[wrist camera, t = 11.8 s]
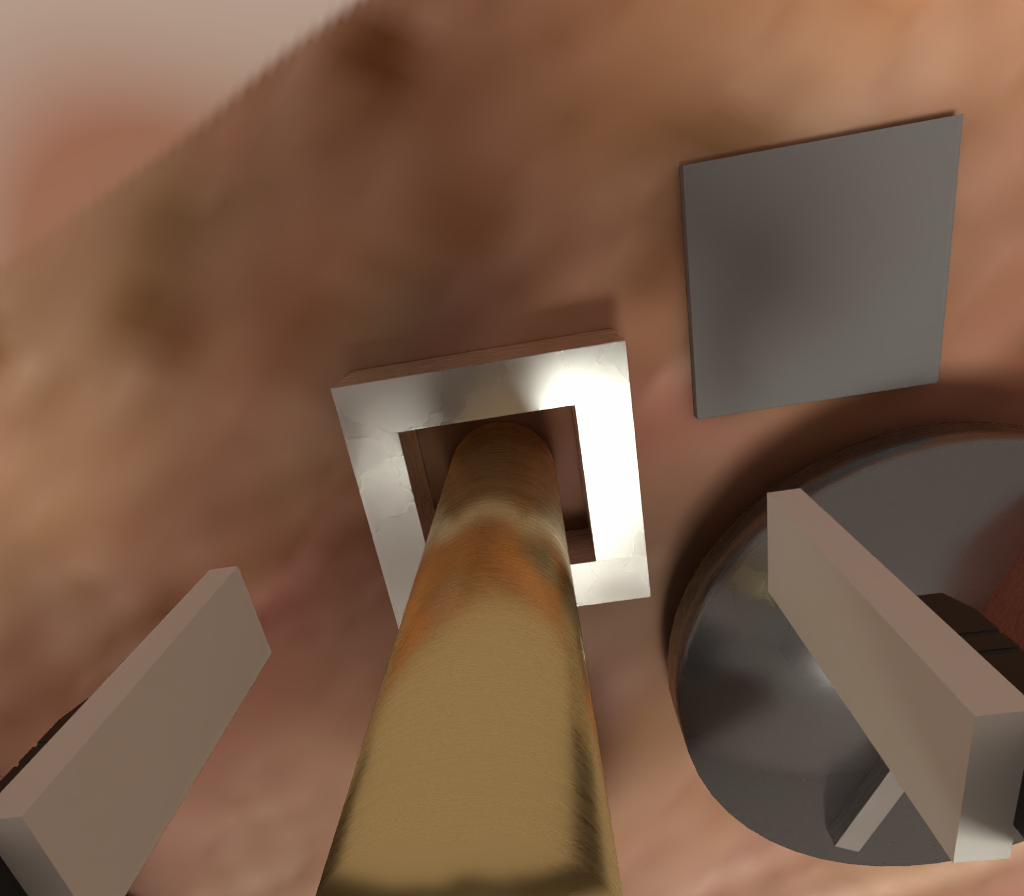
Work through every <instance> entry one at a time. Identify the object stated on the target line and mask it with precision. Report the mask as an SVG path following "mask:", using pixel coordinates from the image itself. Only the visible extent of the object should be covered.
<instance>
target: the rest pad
mask: <svg viewBox="0 0 1024 896" xmlns="http://www.w3.org/2000/svg"><path fill="white" fill-rule="evenodd" d="M962 121H963V114H960V115H955V116H949V117H944V118H939V119H933V120H928V121H922V122H917V123H911V124H906V125H900V126H895V127H889V128H884V129H879V130H873V131H868V132H862V133H857V134H851V135H846V136H840V137H835V138H829V139H824V140H819V141H813V142H808V143H802V144H797V145H791V146H786V147H780V148H775V149H770V150H764V151H759V152H753V153H748V154H742V155H737V156H731V157H726V158H720V159H715V160H710V161H704V162H699V163H693V164H688V165H683V166H680V167H679V168H680V185H681V202H682V219H683V235H684V252H685V269H686V286H687V302H688V319H689V336H690V353H691V369H692V386H693V403H694V416H695V417H696V418H697V419H702V418H709V417H715V416H722V415H729V414H735V413H742V412H748V411H755V410H761V409H768V408H774V407H781V406H788V405H794V404H801V403H807V402H814V401H820V400H827V399H833V398H840V397H846V396H853V395H860V394H866V393H873V392H879V391H886V390H892V389H899V388H905V387H912V386H918V385H925V384H932V383H938V381H939V370H940V359H941V348H942V337H943V327H944V316H945V305H946V294H947V283H948V272H949V262H950V251H951V240H952V229H953V218H954V208H955V197H956V186H957V175H958V164H959V153H960V143H961V132H962Z"/></svg>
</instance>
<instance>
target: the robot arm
mask: <svg viewBox="0 0 1024 896" xmlns="http://www.w3.org/2000/svg"><path fill="white" fill-rule="evenodd" d="M767 532H768V591H769V593H770V594H771V596H772V597H773V599H774V600H775V602H776V603H777V605H778V606H779V608H780V609H781V611H782V612H783V613H784V615H785V616H786V618H787V619H788V621H789V622H790V624H791V625H792V627H793V628H794V630H795V631H796V633H797V634H798V636H799V637H800V638H801V640H802V641H803V643H804V644H805V646H806V647H807V649H808V650H809V652H810V653H811V655H812V656H813V658H814V659H815V661H816V662H817V663H818V665H819V666H820V668H821V669H822V671H823V672H824V674H825V675H826V677H827V678H828V680H829V681H830V683H831V684H832V686H833V687H834V689H835V690H836V691H837V693H838V694H839V696H840V697H841V699H842V700H843V702H844V703H845V705H846V706H847V708H848V709H849V711H850V712H851V714H852V715H853V716H854V718H855V719H856V721H857V722H858V724H859V725H860V727H861V728H862V730H863V731H864V733H865V734H866V736H867V737H868V739H869V740H870V741H871V743H872V744H873V746H874V747H875V749H876V750H877V752H878V753H879V755H880V756H881V758H882V759H883V761H884V762H885V764H886V765H887V766H888V768H889V769H890V771H891V772H892V774H893V775H894V777H895V778H896V780H897V781H898V783H899V784H900V786H901V787H902V789H903V790H904V792H905V793H906V794H907V796H908V797H909V799H910V800H911V802H912V803H913V805H914V806H915V808H916V809H917V811H918V812H919V814H920V815H921V817H922V818H923V819H924V821H925V822H926V824H927V825H928V827H929V828H930V830H931V831H932V833H933V834H934V836H935V837H936V839H937V840H938V842H939V843H940V844H941V846H942V847H943V849H944V850H945V852H946V853H947V855H948V856H949V858H950V859H951V861H952V862H953V863H960V862H971V861H983V860H995V859H1006V858H1010V853H1011V848H1012V843H1013V838H1014V833H1015V828H1016V829H1017V831H1018V832H1019V833H1020V834H1021V835H1022V837H1023V838H1024V651H1021V649H1020V646H1019V645H1018V644H1016V643H1015V642H1014V641H1013V640H1012V639H1010V638H1009V637H1008V636H1007V635H1006V634H1005V633H1002V634H1001V633H1000V631H999V628H997V627H996V626H995V625H994V624H993V623H991V622H990V621H989V620H988V619H987V618H985V617H984V616H983V615H982V614H981V613H979V612H978V611H977V610H976V609H975V608H972V607H970V606H968V605H966V604H964V603H962V602H960V601H958V600H956V599H954V598H952V597H950V596H948V595H946V594H944V593H934V594H926V595H917V596H916V595H915V594H914V593H913V592H912V591H911V590H910V589H909V588H908V587H906V586H905V585H904V584H903V583H902V582H901V581H900V580H899V579H898V578H897V577H896V576H895V575H894V574H892V573H891V572H890V571H889V570H888V569H887V568H886V567H885V566H884V565H883V564H882V563H881V562H879V561H878V560H877V559H876V558H875V557H874V556H873V555H872V554H871V553H870V552H869V551H868V550H867V549H865V548H864V547H863V546H862V545H861V544H860V543H859V542H858V541H857V540H856V539H855V538H854V537H853V536H851V535H850V534H849V533H848V532H847V531H846V530H845V529H844V528H843V527H842V526H841V525H840V524H838V523H837V522H836V521H835V520H834V519H833V518H832V517H831V516H830V515H829V514H828V513H827V512H826V511H824V510H823V509H822V508H821V507H820V506H819V505H818V504H817V503H816V502H815V501H814V500H813V499H811V498H810V497H809V496H808V495H807V494H806V493H805V492H804V491H803V490H802V489H801V488H798V489H791V490H784V491H777V492H769V493H767ZM271 653H272V652H271V650H270V647H269V645H268V642H267V639H266V637H265V634H264V632H263V629H262V626H261V624H260V621H259V619H258V616H257V614H256V611H255V608H254V606H253V603H252V601H251V598H250V595H249V593H248V590H247V588H246V585H245V583H244V580H243V577H242V575H241V572H240V570H239V567H238V566H233V567H226V568H219V569H212V570H209V571H208V572H207V573H206V574H205V575H204V576H203V577H202V578H201V579H200V580H199V582H198V583H197V584H196V585H195V586H194V587H193V588H192V589H191V590H190V591H189V592H188V593H187V594H186V595H185V596H184V597H183V599H182V600H181V601H180V602H179V603H178V604H177V605H176V606H175V607H174V608H173V609H172V610H171V611H170V612H169V613H168V615H167V616H166V617H165V618H164V619H163V620H162V621H161V622H160V623H159V624H158V625H157V626H156V627H155V628H154V629H153V631H152V632H151V633H150V634H149V635H148V636H147V637H146V638H145V639H144V640H143V641H142V642H141V643H140V644H139V645H138V647H137V648H136V649H135V650H134V651H133V652H132V653H131V654H130V655H129V656H128V657H127V658H126V659H125V660H124V661H123V663H122V664H121V665H120V666H119V667H118V668H117V669H116V670H115V671H114V672H113V673H112V674H111V675H110V676H109V677H108V679H107V680H106V681H105V682H104V683H103V684H102V685H101V686H100V687H99V688H98V689H97V690H96V691H95V692H94V693H93V695H92V696H91V697H90V698H88V699H86V700H85V701H84V702H82V703H81V704H80V705H78V706H77V707H76V708H74V709H73V710H72V711H70V712H69V713H67V714H66V715H65V716H63V717H62V718H61V719H59V720H58V722H57V723H56V724H55V725H54V726H53V727H52V728H51V729H50V730H49V731H48V732H47V733H46V734H45V735H44V736H43V737H42V738H41V739H40V740H39V741H38V742H37V743H38V745H37V747H33V748H32V749H31V750H30V751H29V752H28V753H27V754H26V755H25V756H24V757H23V758H22V759H21V760H20V761H19V765H18V767H13V769H12V770H11V771H10V772H9V773H8V774H7V775H6V776H5V777H4V778H3V779H2V780H1V781H0V896H125V895H126V894H127V892H128V890H129V889H130V887H131V885H132V884H133V882H134V880H135V879H136V877H137V875H138V874H139V872H140V870H141V869H142V867H143V866H144V864H145V862H146V861H147V859H148V857H149V856H150V854H151V852H152V851H153V849H154V847H155V846H156V844H157V842H158V841H159V839H160V837H161V836H162V834H163V832H164V831H165V829H166V827H167V826H168V824H169V822H170V821H171V819H172V817H173V816H174V814H175V813H176V811H177V809H178V808H179V806H180V804H181V803H182V801H183V799H184V798H185V796H186V794H187V793H188V791H189V789H190V788H191V786H192V784H193V783H194V781H195V779H196V778H197V776H198V774H199V773H200V771H201V769H202V768H203V766H204V764H205V763H206V761H207V759H208V758H209V756H210V755H211V753H212V751H213V750H214V748H215V746H216V745H217V743H218V741H219V740H220V738H221V736H222V735H223V733H224V731H225V730H226V728H227V726H228V725H229V723H230V721H231V720H232V718H233V716H234V715H235V713H236V711H237V710H238V708H239V706H240V705H241V703H242V702H243V700H244V698H245V697H246V695H247V693H248V692H249V690H250V688H251V687H252V685H253V683H254V682H255V680H256V678H257V677H258V675H259V673H260V672H261V670H262V668H263V667H264V665H265V663H266V662H267V660H268V658H269V657H270V655H271Z"/></svg>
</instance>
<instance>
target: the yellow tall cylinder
mask: <svg viewBox="0 0 1024 896" xmlns="http://www.w3.org/2000/svg"><path fill="white" fill-rule="evenodd" d="M316 896H623V893H622V887H621V880H620V874H619V868H618V861H617V855H616V849H615V843H614V836H613V830H612V824H611V817H610V811H609V805H608V798H607V792H606V786H605V779H604V773H603V767H602V761H601V754H600V748H599V742H598V735H597V729H596V723H595V716H594V710H593V704H592V698H591V691H590V685H589V679H588V672H587V666H586V660H585V653H584V647H583V641H582V634H581V628H580V622H579V616H578V609H577V603H576V597H575V590H574V584H573V578H572V571H571V565H570V559H569V552H568V546H567V540H566V534H565V527H564V521H563V515H562V508H561V502H560V496H559V489H558V483H557V477H556V471H555V464H554V460H553V456H552V453H551V451H550V449H549V447H548V445H547V444H546V443H545V441H544V440H543V439H542V438H541V437H540V436H539V435H538V434H537V433H535V432H534V431H533V430H531V429H529V428H527V427H525V426H523V425H520V424H517V423H512V422H492V423H488V424H485V425H482V426H480V427H478V428H476V429H474V430H473V431H471V432H470V433H468V434H467V435H466V436H465V437H464V438H463V439H462V440H461V442H460V443H459V445H458V446H457V448H456V450H455V452H454V455H453V458H452V461H451V464H450V467H449V471H448V474H447V477H446V480H445V483H444V487H443V490H442V493H441V496H440V499H439V503H438V506H437V509H436V512H435V515H434V519H433V522H432V525H431V528H430V531H429V535H428V538H427V541H426V544H425V547H424V551H423V554H422V557H421V560H420V563H419V567H418V570H417V573H416V576H415V579H414V583H413V586H412V589H411V592H410V595H409V599H408V602H407V605H406V608H405V611H404V615H403V618H402V621H401V624H400V627H399V631H398V634H397V637H396V640H395V643H394V647H393V650H392V653H391V656H390V659H389V663H388V666H387V669H386V672H385V675H384V679H383V682H382V685H381V688H380V692H379V695H378V698H377V701H376V704H375V708H374V711H373V714H372V717H371V720H370V724H369V727H368V730H367V733H366V736H365V740H364V743H363V746H362V749H361V752H360V756H359V759H358V762H357V765H356V768H355V772H354V775H353V778H352V781H351V784H350V788H349V791H348V794H347V797H346V800H345V804H344V807H343V810H342V813H341V816H340V820H339V823H338V826H337V829H336V832H335V836H334V839H333V842H332V845H331V848H330V852H329V855H328V858H327V861H326V864H325V868H324V871H323V874H322V877H321V880H320V884H319V887H318V890H317V893H316Z"/></svg>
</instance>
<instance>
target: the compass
mask: <svg viewBox="0 0 1024 896" xmlns="http://www.w3.org/2000/svg"><path fill="white" fill-rule="evenodd" d="M798 488H801V489H802V490H803V491H804V492H805V493H806V494H807V495H808V496H809V497H810V498H811V499H813V500H814V501H815V502H816V503H817V504H818V505H819V506H820V507H821V508H822V509H823V510H824V511H826V512H827V513H828V514H829V515H830V516H831V517H832V518H833V519H834V520H835V521H836V522H837V523H838V524H840V525H841V526H842V527H843V528H844V529H845V530H846V531H847V532H848V533H849V534H850V535H851V536H853V537H854V538H855V539H856V540H857V541H858V542H859V543H860V544H861V545H862V546H863V547H864V548H865V549H867V550H868V551H869V552H870V553H871V554H872V555H873V556H874V557H875V558H876V559H877V560H878V561H879V562H881V563H882V564H883V565H884V566H885V567H886V568H887V569H888V570H889V571H890V572H891V573H892V574H894V575H895V576H896V577H897V578H898V579H899V580H900V581H901V582H902V583H903V584H904V585H905V586H906V587H908V588H909V589H910V590H911V591H912V592H913V593H914V594H915V595H916V596H917V595H926V594H934V593H944V594H946V595H948V596H950V597H952V598H954V599H956V600H958V601H960V602H962V603H964V604H966V605H968V606H970V607H972V608H975V609H976V610H977V611H978V612H979V613H981V614H982V615H983V616H984V617H985V618H987V619H988V620H989V621H990V622H991V623H993V624H994V625H995V626H996V627H997V628H999V631H1000V633H1001V634H1002V633H1005V634H1006V635H1007V636H1008V637H1009V638H1010V639H1012V640H1013V641H1014V642H1015V643H1016V644H1018V645H1019V646H1020V649H1021V651H1024V427H1023V426H1018V425H1009V424H999V423H990V422H962V423H943V424H936V425H929V426H922V427H915V428H909V429H905V430H901V431H897V432H893V433H889V434H886V435H882V436H878V437H874V438H871V439H868V440H866V441H863V442H860V443H858V444H855V445H852V446H850V447H847V448H845V449H842V450H839V451H837V452H835V453H833V454H831V455H829V456H827V457H825V458H823V459H821V460H819V461H817V462H815V463H813V464H811V465H809V466H807V467H805V468H803V469H802V470H800V471H798V472H797V473H795V474H794V475H792V476H791V477H789V478H788V479H786V480H785V481H783V482H782V483H780V484H778V485H777V486H775V487H774V488H772V489H771V490H770V491H769V492H777V491H784V490H791V489H798ZM769 492H767V493H769ZM767 493H766V494H765V495H764V496H763V497H761V498H760V499H759V500H758V501H756V502H755V503H754V504H753V505H752V506H750V507H749V508H748V509H747V510H745V511H744V512H743V513H742V514H741V515H740V516H739V517H738V518H737V520H736V521H735V522H734V523H733V524H732V525H731V526H730V527H729V528H728V529H727V530H726V531H725V532H724V533H723V534H722V535H721V536H720V537H719V539H718V540H717V541H716V543H715V544H714V545H713V547H712V548H711V549H710V551H709V552H708V553H707V555H706V556H705V557H704V558H703V560H702V561H701V563H700V565H699V566H698V568H697V570H696V572H695V573H694V575H693V577H692V579H691V580H690V582H689V584H688V585H687V587H686V590H685V592H684V595H683V597H682V599H681V602H680V604H679V607H678V609H677V612H676V615H675V619H674V623H673V627H672V631H671V635H670V639H669V651H668V663H667V666H668V678H669V689H670V693H671V697H672V701H673V705H674V709H675V712H676V715H677V718H678V721H679V725H680V728H681V731H682V734H683V737H684V740H685V743H686V746H687V749H688V752H689V755H690V757H691V759H692V761H693V764H694V766H695V768H696V770H697V772H698V775H699V776H700V778H701V779H702V781H703V782H704V784H705V785H706V787H707V788H708V790H709V791H710V793H711V794H712V796H713V797H714V798H715V799H716V800H717V801H718V802H719V803H720V804H721V805H722V806H723V807H724V808H725V809H726V810H727V811H728V813H730V814H731V815H732V816H733V817H735V818H736V819H737V820H739V821H740V822H741V823H742V824H744V825H745V826H746V827H748V828H749V829H751V830H752V831H754V832H756V833H758V834H759V835H761V836H763V837H764V838H766V839H768V840H770V841H772V842H774V843H777V844H779V845H781V846H784V847H786V848H788V849H791V850H793V851H796V852H799V853H803V854H806V855H810V856H813V857H816V858H820V859H825V860H830V861H836V862H841V863H847V864H857V865H869V866H912V865H922V864H933V863H941V862H946V861H951V859H950V858H949V856H948V855H947V853H946V852H945V850H944V849H943V847H942V846H941V844H940V843H939V842H938V840H937V839H936V837H935V836H934V834H933V833H932V831H931V830H930V828H929V827H928V825H927V824H926V822H925V821H924V819H923V818H922V817H921V815H920V814H919V812H918V811H917V809H916V808H915V806H914V805H913V803H912V802H911V800H910V799H909V797H908V796H907V794H906V793H905V792H904V790H903V789H902V787H901V786H900V784H899V783H898V781H897V780H896V778H895V777H894V775H893V774H892V772H891V771H890V769H889V768H888V766H887V765H886V764H885V762H884V761H883V759H882V758H881V756H880V755H879V753H878V752H877V750H876V749H875V747H874V746H873V744H872V743H871V741H870V740H869V739H868V737H867V736H866V734H865V733H864V731H863V730H862V728H861V727H860V725H859V724H858V722H857V721H856V719H855V718H854V716H853V715H852V714H851V712H850V711H849V709H848V708H847V706H846V705H845V703H844V702H843V700H842V699H841V697H840V696H839V694H838V693H837V691H836V690H835V689H834V687H833V686H832V684H831V683H830V681H829V680H828V678H827V677H826V675H825V674H824V672H823V671H822V669H821V668H820V666H819V665H818V663H817V662H816V661H815V659H814V658H813V656H812V655H811V653H810V652H809V650H808V649H807V647H806V646H805V644H804V643H803V641H802V640H801V638H800V637H799V636H798V634H797V633H796V631H795V630H794V628H793V627H792V625H791V624H790V622H789V621H788V619H787V618H786V616H785V615H784V613H783V612H782V611H781V609H780V608H779V606H778V605H777V603H776V602H775V600H774V599H773V597H772V596H771V594H770V593H769V591H768V532H767ZM1022 841H1024V838H1023V837H1022V835H1021V834H1020V833H1019V832H1018V831H1017V829H1016V828H1015V833H1014V838H1013V843H1012V845H1014V844H1017V843H1019V842H1022Z"/></svg>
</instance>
